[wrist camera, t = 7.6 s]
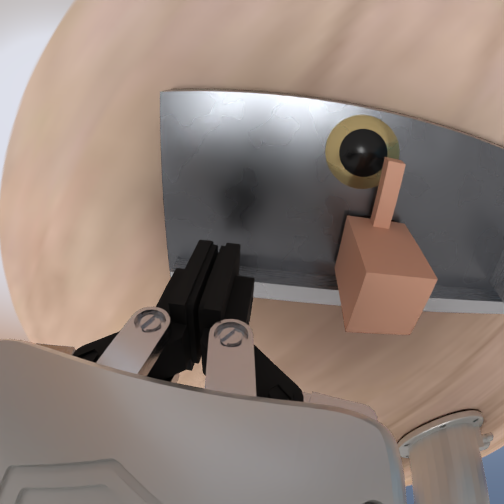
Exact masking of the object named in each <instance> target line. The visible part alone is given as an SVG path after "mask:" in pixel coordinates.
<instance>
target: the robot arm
mask: <svg viewBox="0 0 504 504" xmlns="http://www.w3.org/2000/svg"><path fill="white" fill-rule="evenodd" d="M240 249H241V245H240V244H235V243H226V246H221V247H220V250H219V253H218V245H214V242H213V241H209V240H199V241H198V243H197V245H196V247H195V249H194V251H193V253H192V255H191V257H190V259H189V261H188V263H187V265H186V267H185V269H182V268H176V270H175V271H174V273H173V275H172V277H171V279H170V281H169V283H168V284H167V286H166V288H165V290H164V292H163V294H162V296H161V298H160V300H159V302H158V304H157V306H156V307H146V308H142V309H140V310H138V311H136V312H135V313H134V314H133V315H132V316H131V318H130V319H129V320H128V322H127V323H126V324H125V325H124V327H123V328H122V329H121V331H119V332H117V333H114V334H112V335H109V336H107V337H104V338H102V339H99V340H97V341H94V342H91V343H89V344H86V345H84V346H82V347H80V348H78V349H77V350H75V348H74V347H68V346H57V345H47V344H37V343H36V344H35V343H31V342H27V341H22V340H15V339H0V504H407V503H406V489H405V478H404V471H403V465H402V460H401V457H404V458H409V460H410V468H411V476H412V484H413V494H414V504H490V502H489V496H488V490H487V484H486V479H485V473H484V468H483V463H482V458H481V454H480V451H482V450H485V449H487V448H488V447H489V445H490V441H492V440H493V433H491V432H490V433H487V434H484V435H481V431H480V427H481V426H482V424H483V417H482V414H481V412H479V411H475V410H468V411H462V412H458V413H454V414H451V415H447V416H444V417H442V418H439V419H436V420H434V421H432V422H429V423H427V424H425V425H423V426H421V427H419V428H417V429H415V430H414V431H412V432H410V433H409V434H407V435H406V436H404V437H403V438H402V439H401V440H400V441H399V442H398V444H397V443H396V440H395V438H394V436H393V434H392V433H391V432H390V430H389V429H388V428H387V427H386V426H384V425H383V424H382V423H380V422H378V420H377V415H376V413H375V411H374V410H373V409H372V408H370V407H369V406H367V405H364V404H361V403H356V402H352V401H348V400H343V399H339V398H335V397H331V396H327V395H323V394H320V393H316V392H312V394H309V393H305V392H302V391H301V389H300V388H299V387H298V386H297V385H296V384H295V383H294V382H293V381H292V380H291V379H290V378H289V377H288V376H287V375H285V374H284V373H283V372H282V371H281V370H280V369H279V368H278V367H277V366H276V365H275V364H274V363H273V362H272V361H271V360H270V359H268V358H267V357H266V356H265V355H264V354H263V353H262V352H261V351H260V350H259V349H258V348H257V347H256V346H255V345H254V340H253V332H252V329H251V328H250V327H249V321H250V315H251V309H252V302H253V293H254V282H255V278H253V277H245V276H239V268H240ZM201 356H202V368H203V373H204V374H205V376H206V379H205V389H204V388H198V387H193V386H188V385H183V384H178V383H177V381H178V379H179V373H180V372H182V371H184V370H192V369H193V366H194V363H199V361H200V358H201Z"/></svg>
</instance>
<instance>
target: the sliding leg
mask: <svg viewBox="0 0 504 504" xmlns="http://www.w3.org/2000/svg"><path fill="white" fill-rule="evenodd" d="M405 166H406V164H405V163H404V162H403V161H402V160H398V159H393V158H388V157H385V158H384V163H383V167H382V172H381V177H380V181H379V186H378V190H377V194H376V198H375V203H374V207H373V211H372V215H371V219H370V218H363V217H355V216H348V215H347V218H346V222H345V227H344V231H343V235H342V239H341V244H340V248H339V252H338V256H337V260H336V264H335V268H334V269H335V274H336V279H337V284H338V290H339V296H340V301H341V307H342V313H343V319H344V326H345V332H355V333H375V334H401V335H410V334H411V332H412V330H413V328H414V327H415V325H416V323H417V321H418V319H419V317H420V315H421V313H422V311H423V309H424V307H425V305H426V303H427V301H428V299H429V297H430V295H431V293H432V291H433V289H434V287H435V284H436V282H437V280H438V279H437V277H436V275H435V273H434V272H433V270H432V268H431V266H430V265H429V263H428V261H427V259H426V258H425V256H424V254H423V253H422V251H421V249H420V248H419V246H418V244H417V243H416V241H415V239H414V238H413V236H412V235H411V233H410V231H409V230H408V228H407V227H406V225H405V224H403V223H397V222H391V220H392V216H393V213H394V209H395V206H396V202H397V198H398V194H399V190H400V186H401V182H402V178H403V174H404V170H405Z"/></svg>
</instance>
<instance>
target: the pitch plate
mask: <svg viewBox="0 0 504 504" xmlns="http://www.w3.org/2000/svg"><path fill="white" fill-rule="evenodd" d="M160 134H161V164H162V184H163V200H164V214H165V227H166V238H167V249H168V259H169V268H170V277H172V275H173V273H174V271H175V270H176V268H182V269H185V267H186V265H187V263H188V261H189V259H190V257H191V255H192V253H193V251H194V249H195V247H196V245H197V243H198V241H199V240H209V241H213V242H214V245H218V253H219V250H220V247H221V246H226V243H235V244H240V245H241V249H240V268H239V276H245V277H253V278H255V282H254V293H253V297H256V298H265V299H274V300H284V301H294V302H305V303H315V304H327V305H338V306H341V301H340V296H339V290H338V284H337V279H336V274H335V269H334V268H335V264H336V260H337V256H338V252H339V248H340V244H341V239H342V235H343V231H344V227H345V222H346V218H347V215H348V216H355V217H363V218H370V219H371V215H372V211H373V207H374V203H375V198H376V194H377V190H378V186H379V181H380V177H381V172H382V167H383V163H384V158H385V157H388V158H393V159H398V160H402V161H403V162H404V163H405V164H406V166H405V170H404V174H403V178H402V182H401V186H400V190H399V194H398V198H397V202H396V206H395V209H394V213H393V216H392V220H391V222H397V223H403V224H405V225H406V227H407V228H408V230H409V231H410V233H411V235H412V236H413V238H414V239H415V241H416V243H417V244H418V246H419V248H420V249H421V251H422V253H423V254H424V256H425V258H426V259H427V261H428V263H429V265H430V266H431V268H432V270H433V272H434V273H435V275H436V277H437V279H438V280H437V282H436V284H435V287H434V289H433V291H432V293H431V295H430V297H429V299H428V301H427V303H426V305H425V307H424V309H423V311H430V312H453V313H486V314H504V147H502V146H500V145H497V144H495V143H492V142H489V141H487V140H484V139H482V138H479V137H476V136H473V135H471V134H468V133H465V132H462V131H459V130H456V129H453V128H450V127H447V126H443V125H440V124H437V123H434V122H430V121H427V120H423V119H419V118H416V117H412V116H408V115H404V114H400V113H396V112H392V111H388V110H383V109H379V108H374V107H369V106H365V105H359V104H354V103H349V102H343V101H337V100H331V99H325V98H318V97H310V96H303V95H294V94H285V93H275V92H263V91H248V90H228V89H171V90H166V91H162V92H160Z"/></svg>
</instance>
